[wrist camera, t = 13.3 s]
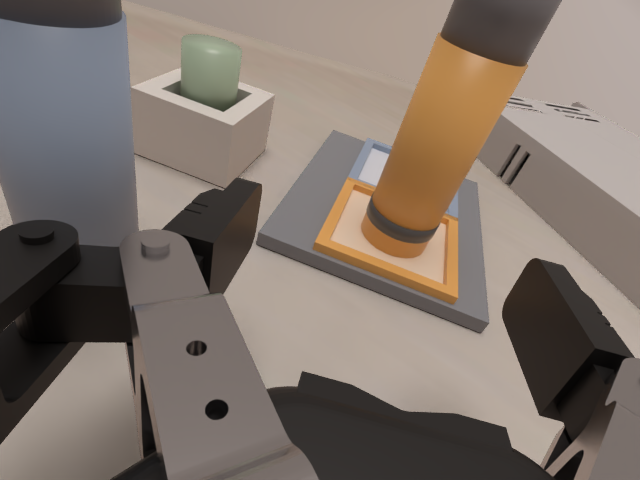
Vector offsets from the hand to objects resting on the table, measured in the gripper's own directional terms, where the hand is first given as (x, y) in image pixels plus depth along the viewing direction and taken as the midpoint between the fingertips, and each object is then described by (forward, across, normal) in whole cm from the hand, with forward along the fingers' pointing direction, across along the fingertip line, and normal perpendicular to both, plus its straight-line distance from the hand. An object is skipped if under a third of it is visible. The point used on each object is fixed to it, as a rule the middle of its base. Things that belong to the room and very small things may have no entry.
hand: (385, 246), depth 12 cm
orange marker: (+10, -2, +4) cm, 11 cm away
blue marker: (+2, +11, +6) cm, 12 cm away
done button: (+13, +11, +2) cm, 17 cm away
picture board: (+13, -2, +5) cm, 14 cm away
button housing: (+14, +11, +4) cm, 18 cm away
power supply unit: (+25, -22, +5) cm, 34 cm away
